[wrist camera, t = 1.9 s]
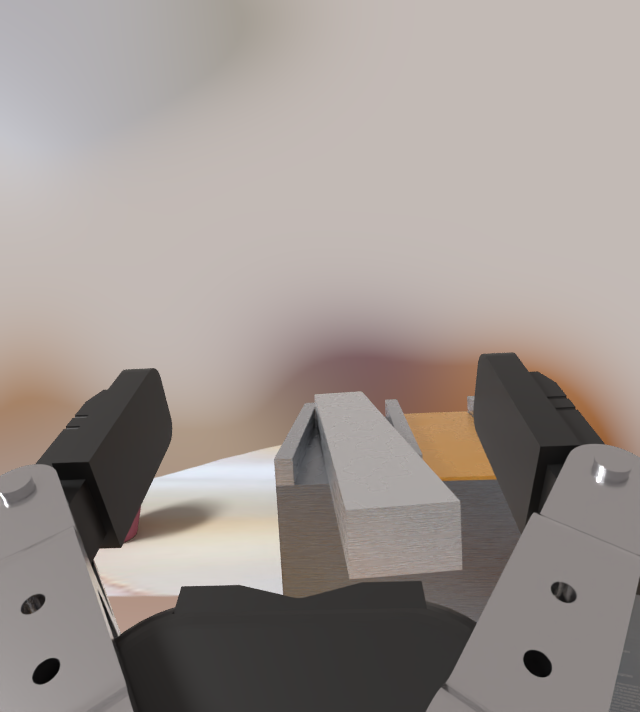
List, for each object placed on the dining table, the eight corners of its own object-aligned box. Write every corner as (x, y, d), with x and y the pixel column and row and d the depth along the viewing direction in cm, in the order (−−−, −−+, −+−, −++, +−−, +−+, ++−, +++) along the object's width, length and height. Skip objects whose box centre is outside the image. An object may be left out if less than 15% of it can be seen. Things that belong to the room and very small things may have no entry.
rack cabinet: (326, 754, 45) (304, 403, 42) (492, 756, 44) (482, 395, 41) (309, 995, 29) (274, 458, 26) (570, 1010, 28) (564, 449, 25)
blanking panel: (316, 423, 40) (314, 394, 40) (362, 420, 41) (361, 391, 40) (349, 579, 17) (345, 509, 16) (462, 569, 17) (460, 501, 17)
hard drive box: (545, 649, 57) (542, 487, 55) (620, 664, 54) (620, 493, 52) (555, 766, 43) (552, 552, 41) (658, 795, 40) (659, 565, 38)
